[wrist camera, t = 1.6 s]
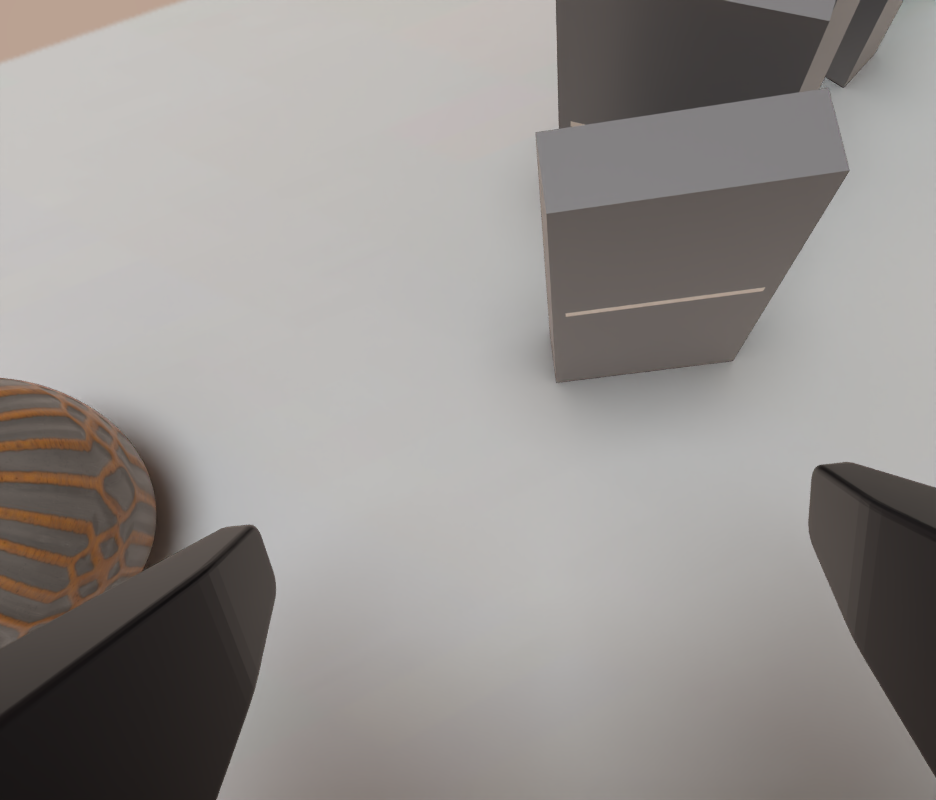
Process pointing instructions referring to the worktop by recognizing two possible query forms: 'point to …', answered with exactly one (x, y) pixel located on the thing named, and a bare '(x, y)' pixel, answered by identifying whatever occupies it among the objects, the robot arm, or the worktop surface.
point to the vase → (65, 506)
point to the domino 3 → (862, 38)
